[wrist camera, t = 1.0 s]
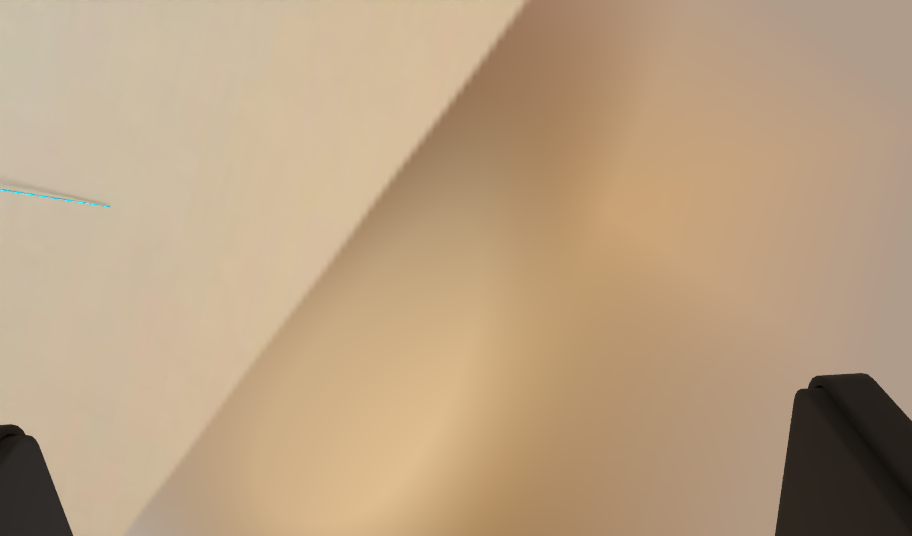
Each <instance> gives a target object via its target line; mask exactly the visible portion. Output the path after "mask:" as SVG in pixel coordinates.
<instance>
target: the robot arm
mask: <svg viewBox="0 0 912 536" xmlns="http://www.w3.org/2000/svg"><path fill="white" fill-rule="evenodd" d="M0 536H73V534H72V532H71V529H70V526H69V524H68V521H67V518H66V516H65V513H64V510H63V508H62V505H61V502H60V500H59V497H58V494H57V492H56V489H55V487H54V484H53V481H52V479H51V476H50V473H49V471H48V468H47V465H46V463H45V460H44V457H43V455H42V452H41V449H40V447H39V445H38V443H37V441H36V439H34V438H33V437H32V436H28V435H25V433H24V431H23V430H22V429H21V428H19V427H18V426H16V425H12V424H10V425H0ZM775 536H912V421H911V420H910V419H909V418H908V417H907V416H906V414H905V413H903V411H902V410H901V409H900V408H899V407H898V406H897V405H896V403H895V402H894V401H893V400H892V399H891V398H890V397H889V396H888V395H887V393H885V391H884V390H883V389H882V388H881V387H880V386H879V385H878V384H877V382H876V381H874V379H873V378H871V377H870V376H869V375H867V374H863V373H857V374H840V375H823V376H816V377H814V378H812V380H811V382H810V384H809V386H808V389H800V390H798V391H797V393H796V395H795V399H794V404H793V411H792V418H791V425H790V433H789V440H788V447H787V454H786V462H785V468H784V475H783V482H782V489H781V497H780V504H779V511H778V518H777V525H776V532H775Z"/></svg>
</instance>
